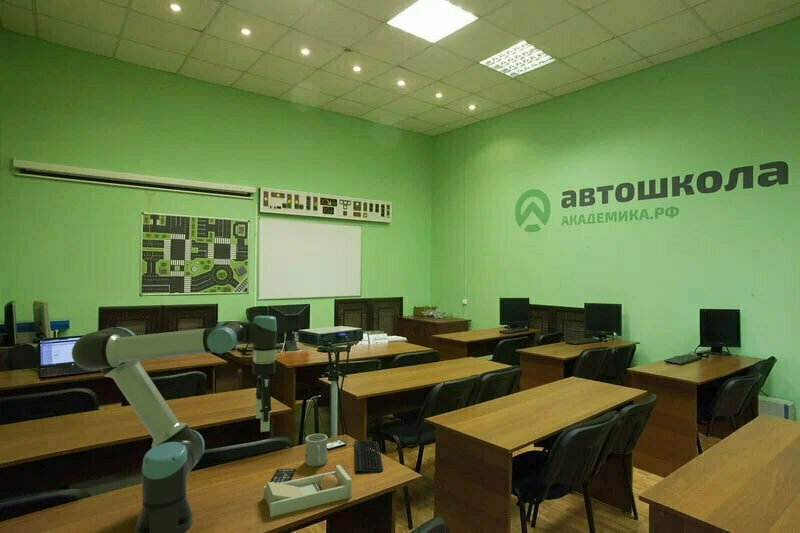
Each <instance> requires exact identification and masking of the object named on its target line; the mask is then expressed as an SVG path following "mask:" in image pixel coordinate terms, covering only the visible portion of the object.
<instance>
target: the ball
mask: <svg viewBox="0 0 800 533" xmlns="http://www.w3.org/2000/svg"><path fill="white" fill-rule="evenodd" d="M335 487H339V486H338V480H337V478H336V477H335V476H334V475H331V474H329V475H326V476H324V477H323V479H322V481H321V487H320V488H321V489H320V490H321V491H322V490H326V489H331V488H335Z"/></svg>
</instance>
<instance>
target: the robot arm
mask: <svg viewBox="0 0 800 533" xmlns="http://www.w3.org/2000/svg"><path fill="white" fill-rule="evenodd" d="M277 327H278V326H277V318H276V316H273V315H257V316H255V317H254V318H253V320H252V321H231V320H230V321H229V320H227V321H220V322H218V323H217V324H216V326H214V327H206V328H197V329H189V330H188V329H187V330H180V331H179V330H178V331H171V332H160V333H159V332H157V333H151V334H150V333H149V334H141V335H140V334H139V335H136V334H135V333H134V332H133V331H132V330H130V329H128V328H125V327H120V326H115V327H114V326H112V327H107V328H105V329H101V330H97V331H92V332H89V333H86V334H84V335H82V336H81V337H80V338H78V339H77V340H76V341H75V343H74V344H73V346H72V349H71V356H72V357H71V358H72V360H73V362H74V364H75V365H77V367H79V368H81V369H83V370H85V371H98V370H100V372H101V374H102V375H103V376H104V377H105V378H106V377H107V378H111V379H113V381H114V382H115V384H116V386H117V387H118V388H119V390H120V391H121V392H122V395H123V396H124V397H125V399H126V400H127V402H128V403H129V405H130V406H131V408H132V409H133V411H134V413H135V414H136V415H137V417H138V418H139V420H140V422H142V425H143V426H144V427H145V428H146V430H147V432H148V434H150V436H151V438H152V444H151V448H150V449H149V450H148V451H147V452H146V453H145V454H144V457H143V460H142V466H141V472H142V473H141V474H142V475H141V477H142V482H141V483H142V484H141V485H142V488H141V489H142V490H141V491H142V495H141V496H142V498H141V499H142V502H141V503H142V506H141V509H140V511H139V515H138V518H137V521H136V524H135V527H134V528H135V529H134V533H185V532H187V531H188V530H189V528H190V527H191V526H192V524H193V512H192V508H191V506H190V503H189V501H188V498H187V478H188V475H189V474H190V473H191V471H192V470H193V468H195V467H196V465H197V464H198V463H199V462H200V460H201V459H202V457H203V454H204V452H205V440H204V438H203V436H202V434H201V433H199V432H198V431H197V430H193V429H192V428H190V426H188V424H187V423H186V422H180V420H178V418H177V416H176V415H175V414H174V412H173V410H172V409H171V407H170V406H169V405H168V403H167V401H166V400H165V399H164V397H163V395H162V393H161V392H160V391H159V390H158V388H157V387H156V385H155V384H154V381H153V380H152V379H151V378H150V376H149V374H148V373H147V371H146V370H145V368H144V367H143V365H142V364H141V361H146V360H147V361H149V360H156V359H157V360H158V359H163V358H172V357H173V358H174V357H180V356H191V355H198V354H199V355H200V354H208V353H216V354H225V353H228V352H230V351H231V350H232V349H233V348H234V347H237V345H238V346H239V345H252V362H253V363H252V370H251V371H252V372H251V373H252V374H253V375H255V376H257V378H256V388H255V389H256V390H255V396H256V397H255V398H256V402H255V403H256V404H255V406H256V407H255V419H260V433H263V432H270V429H271V428H270V425H271V424H270V422H271V421H270V420H271V418H270V417H271V411H272V402H271V401H272V400H271V398H272V397H271V396H272V395H271V383H272V381H271V379H270V375H273V374H275V373H276V368H277V367H276V365H277V364H276V358H277V357H276V356H277V355H278V351H277V334H278V332H277V331H278V329H277Z"/></svg>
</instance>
